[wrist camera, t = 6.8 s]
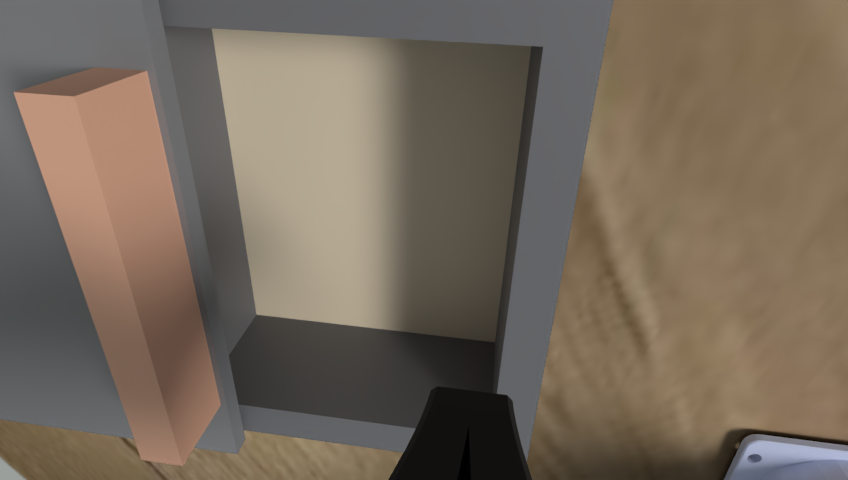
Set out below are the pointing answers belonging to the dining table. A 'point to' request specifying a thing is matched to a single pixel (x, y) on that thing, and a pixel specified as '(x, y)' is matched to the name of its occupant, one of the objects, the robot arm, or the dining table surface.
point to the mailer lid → (104, 236)
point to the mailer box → (384, 197)
